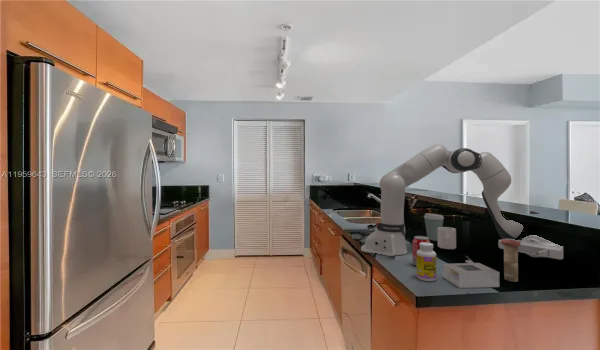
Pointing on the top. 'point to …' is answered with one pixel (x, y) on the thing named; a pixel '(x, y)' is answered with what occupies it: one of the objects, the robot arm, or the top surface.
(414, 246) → the soda can
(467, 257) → the chef's knife
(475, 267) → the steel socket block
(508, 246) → the wooden pin
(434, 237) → the disposable coffee cup
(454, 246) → the mug
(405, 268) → the top surface
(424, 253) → the supplement bottle
